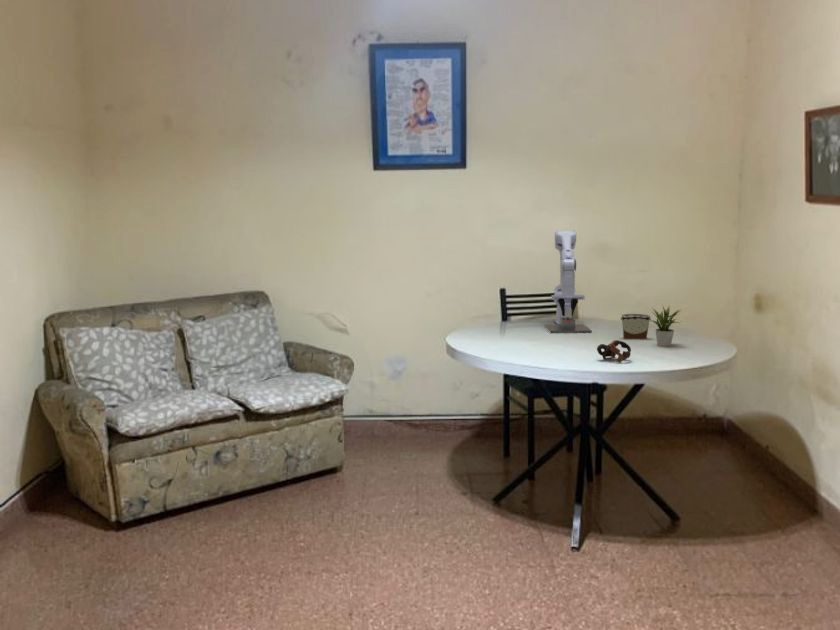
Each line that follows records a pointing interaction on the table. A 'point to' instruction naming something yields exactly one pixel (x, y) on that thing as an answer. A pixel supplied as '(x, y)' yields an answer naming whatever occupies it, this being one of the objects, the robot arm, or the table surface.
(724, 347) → the table surface
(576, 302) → the robot arm
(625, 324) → the food container
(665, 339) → the house plant
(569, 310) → the lift column
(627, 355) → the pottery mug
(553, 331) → the stand base
